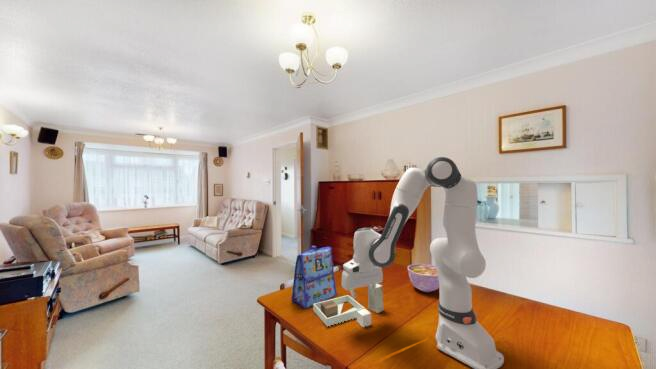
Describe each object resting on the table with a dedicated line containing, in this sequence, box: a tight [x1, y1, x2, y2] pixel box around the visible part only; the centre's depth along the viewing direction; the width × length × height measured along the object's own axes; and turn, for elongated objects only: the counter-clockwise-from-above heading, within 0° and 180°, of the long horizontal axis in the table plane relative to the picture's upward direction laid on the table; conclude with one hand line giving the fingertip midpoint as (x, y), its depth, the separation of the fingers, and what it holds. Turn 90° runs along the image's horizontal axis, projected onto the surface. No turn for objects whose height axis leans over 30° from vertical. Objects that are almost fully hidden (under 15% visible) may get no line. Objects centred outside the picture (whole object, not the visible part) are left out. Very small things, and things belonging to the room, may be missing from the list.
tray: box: [312, 294, 366, 328], centre depth 116 cm, size 15×20×4 cm
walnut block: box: [321, 299, 338, 318], centre depth 113 cm, size 6×6×5 cm
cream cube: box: [356, 308, 372, 328], centre depth 107 cm, size 4×4×5 cm
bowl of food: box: [407, 263, 439, 293], centre depth 141 cm, size 20×20×12 cm
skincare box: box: [367, 283, 384, 314], centre depth 119 cm, size 6×4×12 cm
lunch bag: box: [291, 245, 338, 309], centre depth 131 cm, size 22×14×29 cm, turn 131°
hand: (362, 295), depth 107 cm, fingers open, 8 cm apart
